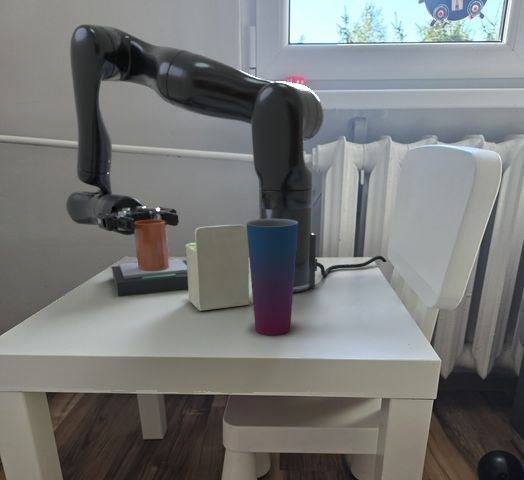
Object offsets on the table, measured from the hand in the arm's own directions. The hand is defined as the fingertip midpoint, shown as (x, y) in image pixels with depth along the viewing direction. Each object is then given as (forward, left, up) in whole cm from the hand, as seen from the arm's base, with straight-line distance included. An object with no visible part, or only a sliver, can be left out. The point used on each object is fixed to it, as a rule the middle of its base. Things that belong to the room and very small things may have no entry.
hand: (154, 222), depth 89 cm
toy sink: (-7, +15, -12) cm, 20 cm away
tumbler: (+1, -2, -9) cm, 9 cm away
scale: (+1, -2, -12) cm, 12 cm away
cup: (-11, +30, -12) cm, 34 cm away
